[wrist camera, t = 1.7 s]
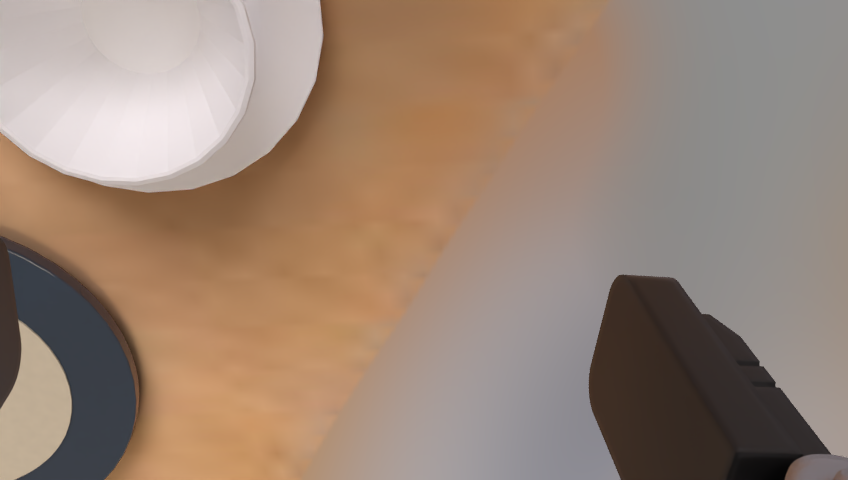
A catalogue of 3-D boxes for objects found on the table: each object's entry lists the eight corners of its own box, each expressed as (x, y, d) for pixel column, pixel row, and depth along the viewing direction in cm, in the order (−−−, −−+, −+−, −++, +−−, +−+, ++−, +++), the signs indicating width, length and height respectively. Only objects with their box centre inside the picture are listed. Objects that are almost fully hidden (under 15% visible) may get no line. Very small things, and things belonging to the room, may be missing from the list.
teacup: (392, -18, 27) (406, 14, 22) (203, 234, 31) (181, 307, 26) (65, -284, 23) (-2, -313, 18) (-111, 47, 26) (-206, 93, 22)
